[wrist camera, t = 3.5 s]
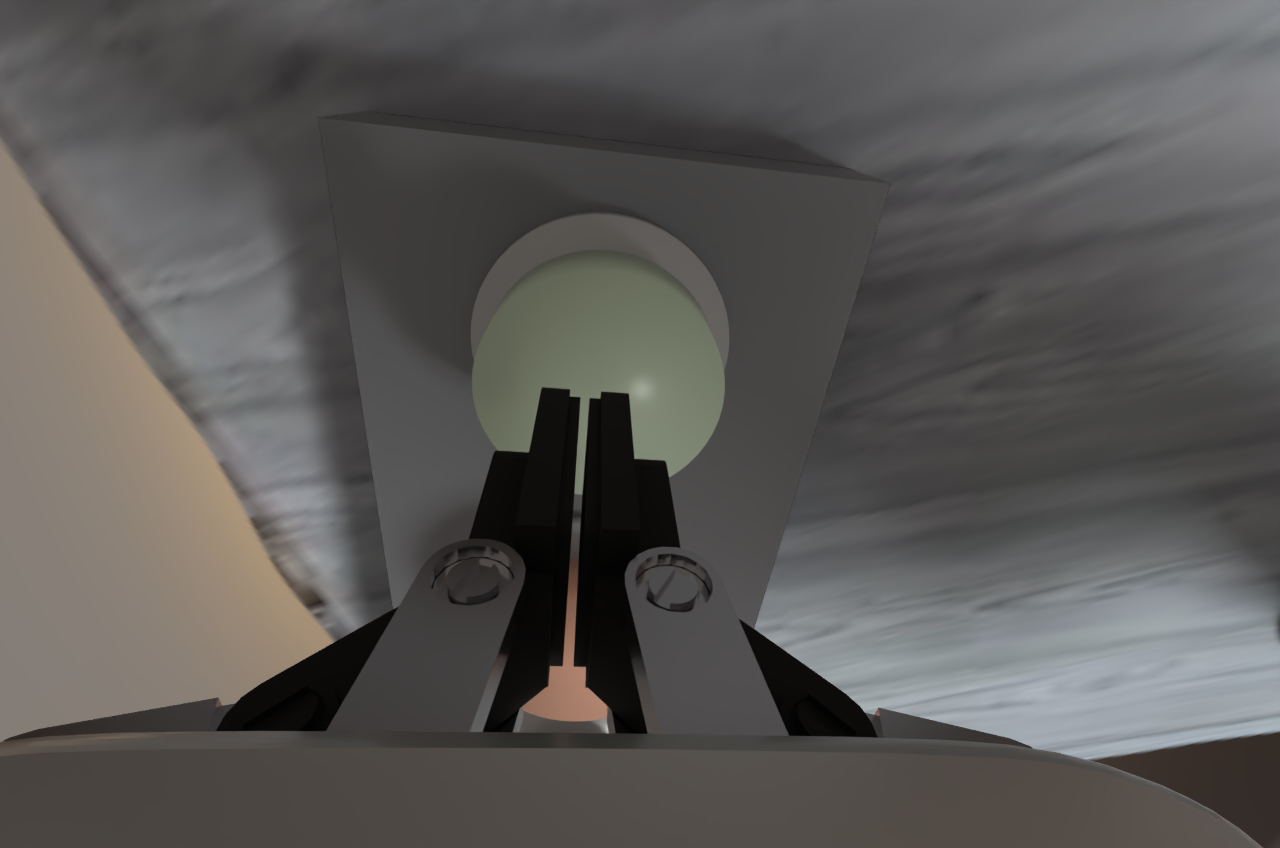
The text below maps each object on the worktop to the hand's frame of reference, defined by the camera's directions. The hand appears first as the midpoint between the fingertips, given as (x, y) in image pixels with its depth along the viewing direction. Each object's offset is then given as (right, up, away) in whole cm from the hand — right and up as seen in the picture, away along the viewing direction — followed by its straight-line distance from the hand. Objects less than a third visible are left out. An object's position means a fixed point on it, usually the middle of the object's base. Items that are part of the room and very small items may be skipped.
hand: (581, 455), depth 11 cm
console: (-1, -4, +13) cm, 14 cm away
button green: (0, +3, +5) cm, 6 cm away
